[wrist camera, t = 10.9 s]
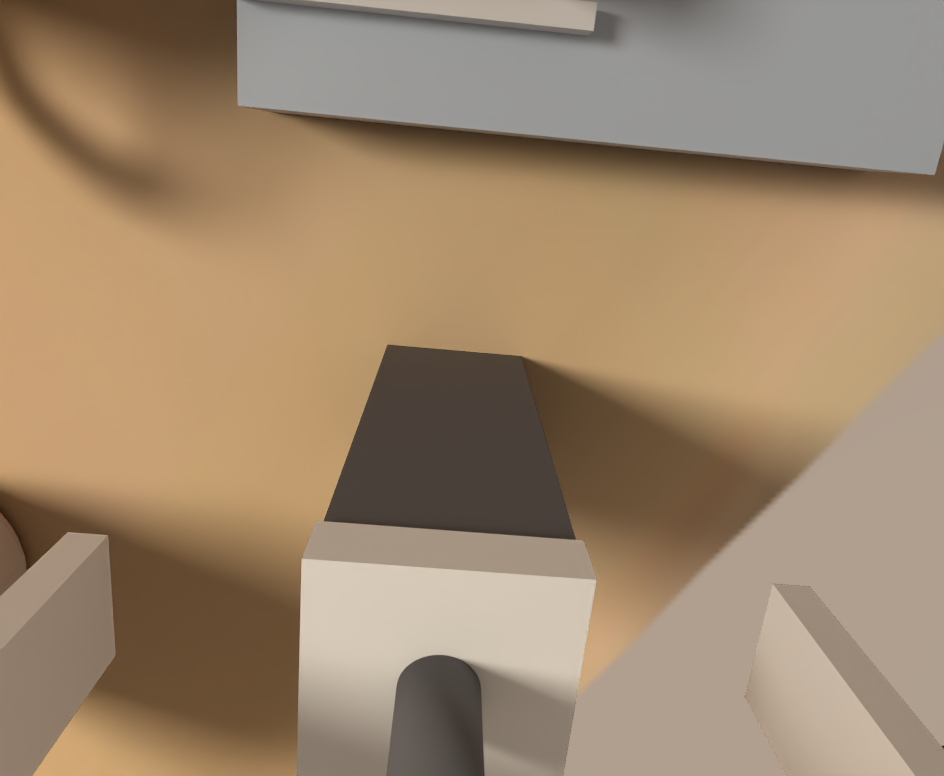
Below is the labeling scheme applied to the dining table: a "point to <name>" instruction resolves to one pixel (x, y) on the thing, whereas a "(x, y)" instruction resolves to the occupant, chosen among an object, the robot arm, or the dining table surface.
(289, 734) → the dining table surface
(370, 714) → the plug
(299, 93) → the socket plate
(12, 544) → the coffee cup
